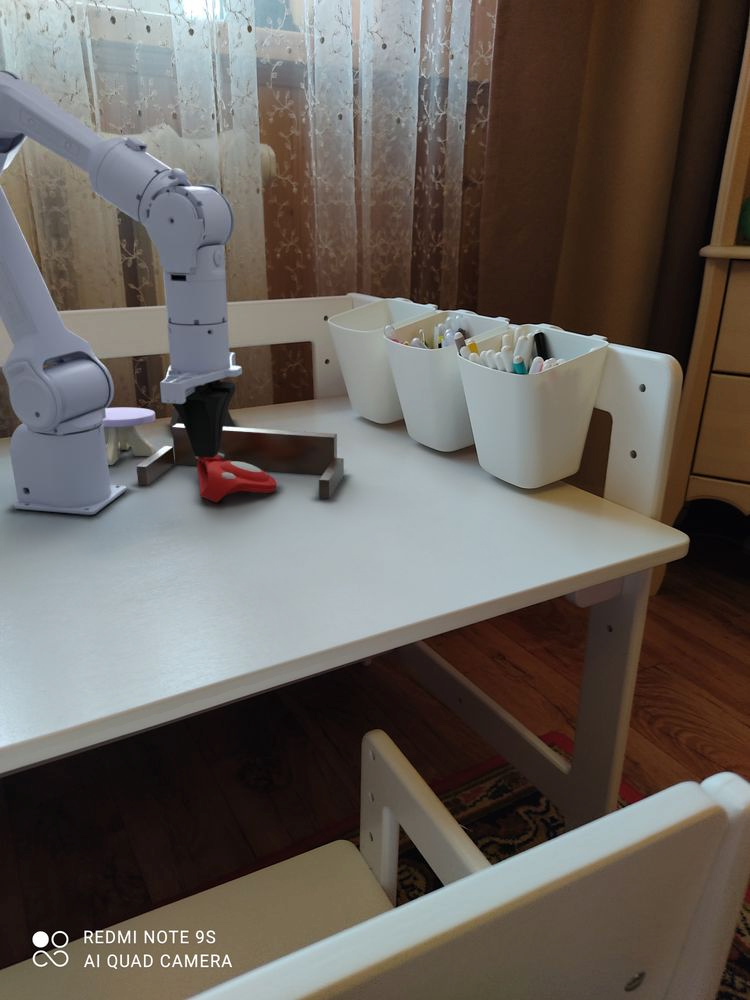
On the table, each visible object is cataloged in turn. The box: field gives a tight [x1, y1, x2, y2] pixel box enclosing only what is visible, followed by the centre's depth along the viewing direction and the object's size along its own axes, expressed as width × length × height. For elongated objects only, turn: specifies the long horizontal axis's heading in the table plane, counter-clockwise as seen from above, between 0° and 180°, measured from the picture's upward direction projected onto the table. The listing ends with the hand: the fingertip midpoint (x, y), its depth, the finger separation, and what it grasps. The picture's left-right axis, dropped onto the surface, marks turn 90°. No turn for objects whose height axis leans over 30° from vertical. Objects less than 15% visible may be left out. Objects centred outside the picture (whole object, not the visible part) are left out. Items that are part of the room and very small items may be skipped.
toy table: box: [103, 406, 156, 466], centre depth 101 cm, size 10×9×6 cm
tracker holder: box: [195, 453, 278, 503], centre depth 90 cm, size 12×4×10 cm
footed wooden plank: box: [136, 424, 345, 501], centre depth 94 cm, size 23×10×5 cm, turn 80°
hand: (206, 455), depth 79 cm, fingers closed
